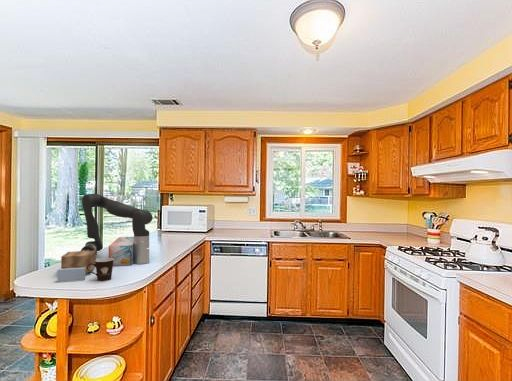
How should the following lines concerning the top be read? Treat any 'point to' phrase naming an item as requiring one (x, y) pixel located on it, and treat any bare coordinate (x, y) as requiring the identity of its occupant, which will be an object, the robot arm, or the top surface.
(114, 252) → the soda box
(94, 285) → the top surface
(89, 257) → the wood grain cube
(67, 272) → the block
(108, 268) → the coffee mug
